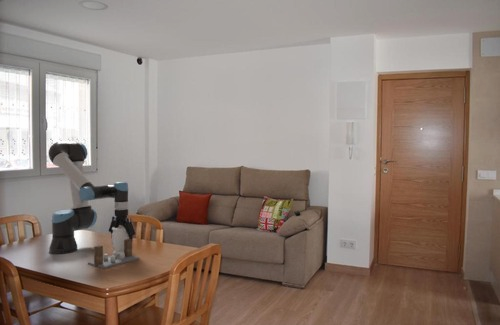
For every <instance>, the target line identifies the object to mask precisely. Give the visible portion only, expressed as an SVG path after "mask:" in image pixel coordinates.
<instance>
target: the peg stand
mask: <svg viewBox="0 0 500 325" xmlns="http://www.w3.org/2000/svg"><path fill="white" fill-rule="evenodd" d="M139 259H140V256H135V255H132V256H129V257H126V256H125V253H120V254H118V255H117V252H115V251H112V255H110V256H109V254H108V253H103V264H99V265H98V267H97V268H102V269H104V270H105V269H109V268H112V267H115V266H118V265H123V264H126V263H130V262H132V261H133V262H134V261H136V260H137V261H138V260H139ZM87 265H91V266H94V260H92V261H88V262H87ZM94 267H95V266H94Z"/></svg>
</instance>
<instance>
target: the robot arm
mask: <svg viewBox="0 0 500 325" xmlns="http://www.w3.org/2000/svg"><path fill="white" fill-rule="evenodd" d="M87 157H88V149H87V147H86V145H85V144H84V143H82V142H79V141H58V142H57V141H56V142H55V143H53V144H51V146H50V147H49V149H48V159H49V160H50V162H52V164H53V166H56V167H58V168H59V169H60V171H61V172H62V173H63V174H64V175H65V177H67V178H68V179H69V185H70V192H71V199H72V206H71V208H70V209H61V210H58V211H55V212H54V213H53V214H52V216H51V217H52V218H51V232H52V234H51V235H52V238H51V242H50V245H49V246H48V247H49V248H48V252H49V254H55V255H57V254H58V255H59V254H61V255H62V254H68V253H69V254H70V253H74V252H76V251H78V243H77V241H76V238H75V231H79V230H86V229H89V228H90V229H91V228H93V227H94V226H95V224H96V222H97V219H98V214H97V211H96V210H95V209H94V208H92V205H91V204H90V203H89V201H93V200H102V199H114V215H113V216H112V217H111V221H110V225H109V227H108V232H109V233H110V234H111V236H110V237H111V239H112V233H113V230H112V227H114V228H118V227H119V226H123V227H124V228H125V229H126V232H127V234H128V236H127V239H132V242H133V236H135V235H136V232H135V228H134V225H133V222H132V218H131V217H129V218H128V216H129V185H128V182H127V181H115V182H114V183H113V184H107V183H106V184H101V185H94V184H93V183H92V182H91V181H90V179H88V177H86V176H85V174H84V173H85V172H84V166H83V165H84V164H85V161H86V159H87ZM111 245H112V246H113V242H112V241H111Z"/></svg>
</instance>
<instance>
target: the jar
mask: <svg viewBox="0 0 500 325" xmlns="http://www.w3.org/2000/svg"><path fill="white" fill-rule="evenodd" d="M112 230H113V233H112V238H111V243H112V242H113V245H112V247H113V250H114V252H117V255H118V254H120V253H124V240H125V239H127V236H128V234H127V232H126V229H125V228H124V227H123V226H122V225H119V227H118V228H114V227H112Z"/></svg>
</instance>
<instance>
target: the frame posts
mask: <svg viewBox="0 0 500 325" xmlns="http://www.w3.org/2000/svg"><path fill="white" fill-rule="evenodd" d="M132 240H133V239H125V240H124V253H125V256H126V257H129V256H133V241H132ZM93 252H94V253H93V255H94V256H93V258H94V260H93V261H94V267H97V268H99V267H98V265H99V264H103V254H104V246H103V245H99V244H98V245H95V246H94V247H93Z"/></svg>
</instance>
